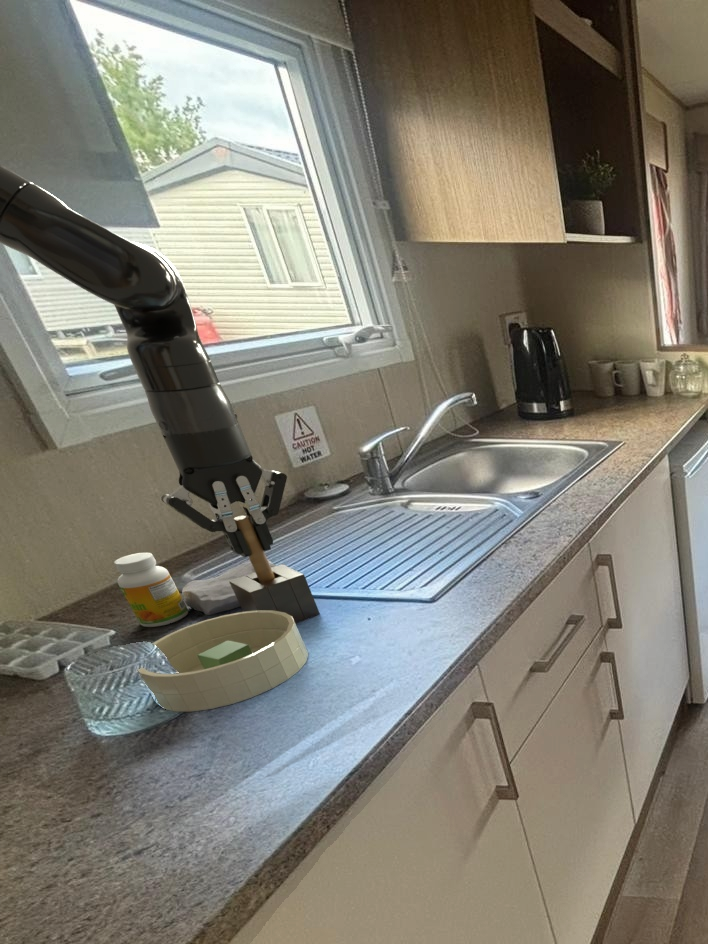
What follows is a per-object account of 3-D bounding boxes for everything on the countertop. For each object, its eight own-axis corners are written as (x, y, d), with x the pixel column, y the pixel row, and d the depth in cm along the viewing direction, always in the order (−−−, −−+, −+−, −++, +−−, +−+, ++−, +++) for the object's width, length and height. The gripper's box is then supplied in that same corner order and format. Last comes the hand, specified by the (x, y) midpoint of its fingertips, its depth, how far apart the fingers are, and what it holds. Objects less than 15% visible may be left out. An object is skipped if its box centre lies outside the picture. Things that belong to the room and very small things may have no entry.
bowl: (186, 732, 73) (162, 691, 70) (137, 689, 80) (114, 651, 77) (332, 666, 84) (317, 629, 81) (277, 634, 91) (262, 600, 88)
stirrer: (280, 623, 93) (235, 520, 86) (274, 620, 94) (229, 518, 87) (294, 618, 95) (251, 516, 87) (288, 615, 95) (245, 514, 88)
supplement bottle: (131, 625, 94) (96, 563, 89) (173, 607, 98) (141, 548, 94) (157, 630, 92) (123, 568, 88) (198, 612, 97) (167, 552, 92)
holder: (270, 637, 90) (249, 592, 87) (249, 625, 94) (228, 581, 90) (321, 617, 95) (304, 574, 92) (300, 606, 99) (282, 563, 95)
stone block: (306, 599, 104) (271, 574, 108) (297, 574, 101) (261, 550, 105) (219, 635, 95) (184, 606, 99) (206, 608, 93) (171, 580, 96)
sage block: (230, 684, 80) (217, 659, 78) (209, 679, 80) (196, 655, 79) (260, 668, 83) (248, 644, 81) (239, 664, 84) (227, 639, 82)
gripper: (250, 410, 88) (298, 530, 96) (116, 432, 78) (182, 564, 86) (276, 416, 85) (323, 541, 93) (139, 440, 74) (205, 577, 82)
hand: (255, 551), depth 89 cm, fingers closed on stirrer, 2 cm apart
